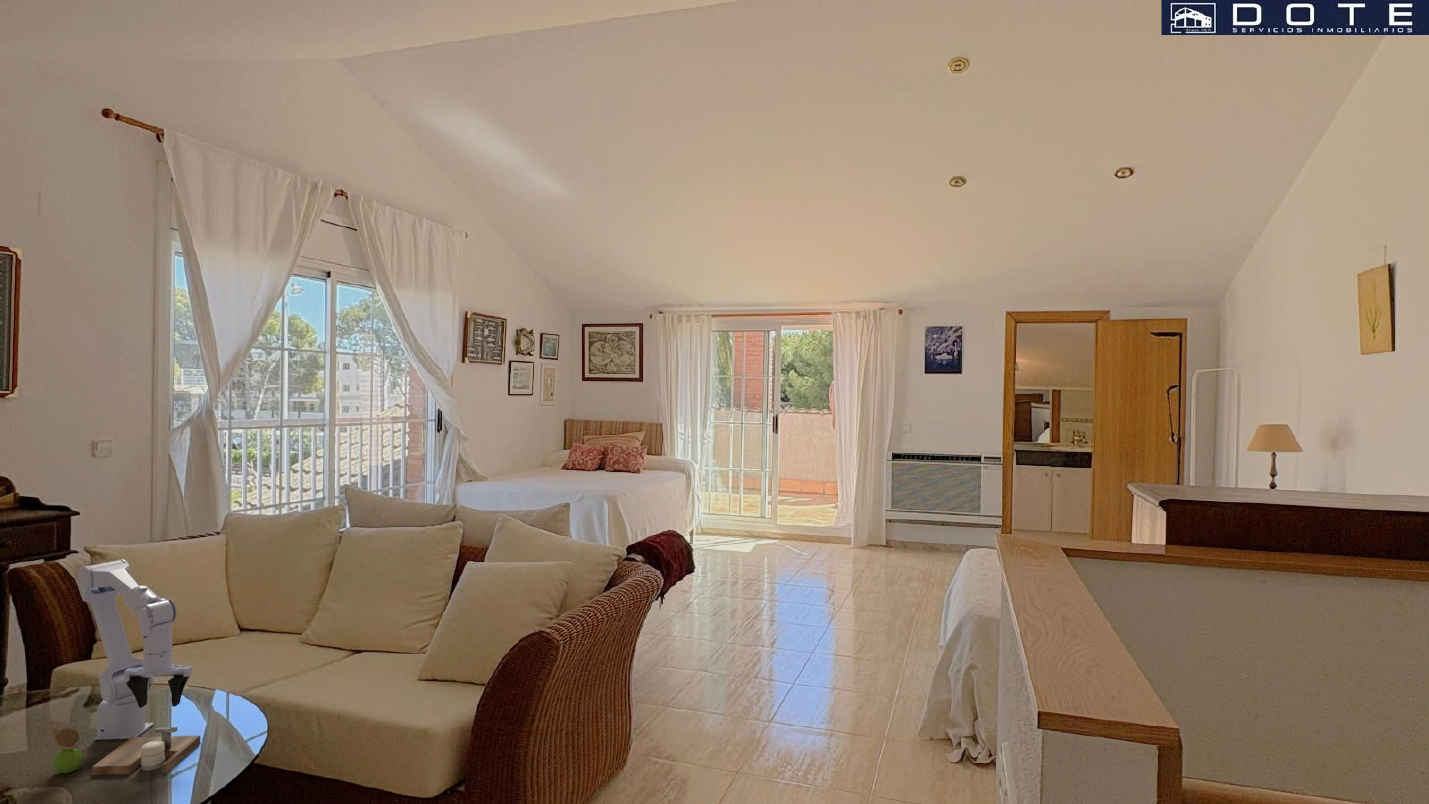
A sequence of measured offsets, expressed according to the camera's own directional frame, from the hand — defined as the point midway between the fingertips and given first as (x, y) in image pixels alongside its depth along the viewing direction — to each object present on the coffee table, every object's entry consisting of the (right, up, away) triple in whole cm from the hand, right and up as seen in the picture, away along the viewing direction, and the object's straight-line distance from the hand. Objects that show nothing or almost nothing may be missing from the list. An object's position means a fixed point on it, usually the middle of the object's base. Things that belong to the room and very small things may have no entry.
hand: (159, 705), depth 194 cm
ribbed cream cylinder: (+4, -11, -8) cm, 14 cm away
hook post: (+4, -9, -4) cm, 10 cm away
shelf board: (+1, -11, -5) cm, 12 cm away
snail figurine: (-13, -11, -12) cm, 21 cm away
